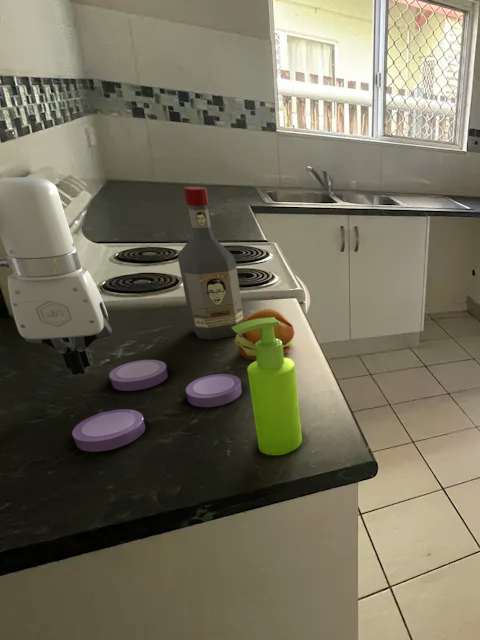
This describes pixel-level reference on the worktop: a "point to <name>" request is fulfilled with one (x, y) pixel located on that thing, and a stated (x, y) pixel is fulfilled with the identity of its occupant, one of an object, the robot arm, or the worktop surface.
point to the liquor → (208, 275)
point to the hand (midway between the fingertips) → (82, 370)
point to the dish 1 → (108, 430)
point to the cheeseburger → (251, 337)
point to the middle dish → (213, 390)
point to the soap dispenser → (273, 391)
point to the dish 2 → (138, 375)
